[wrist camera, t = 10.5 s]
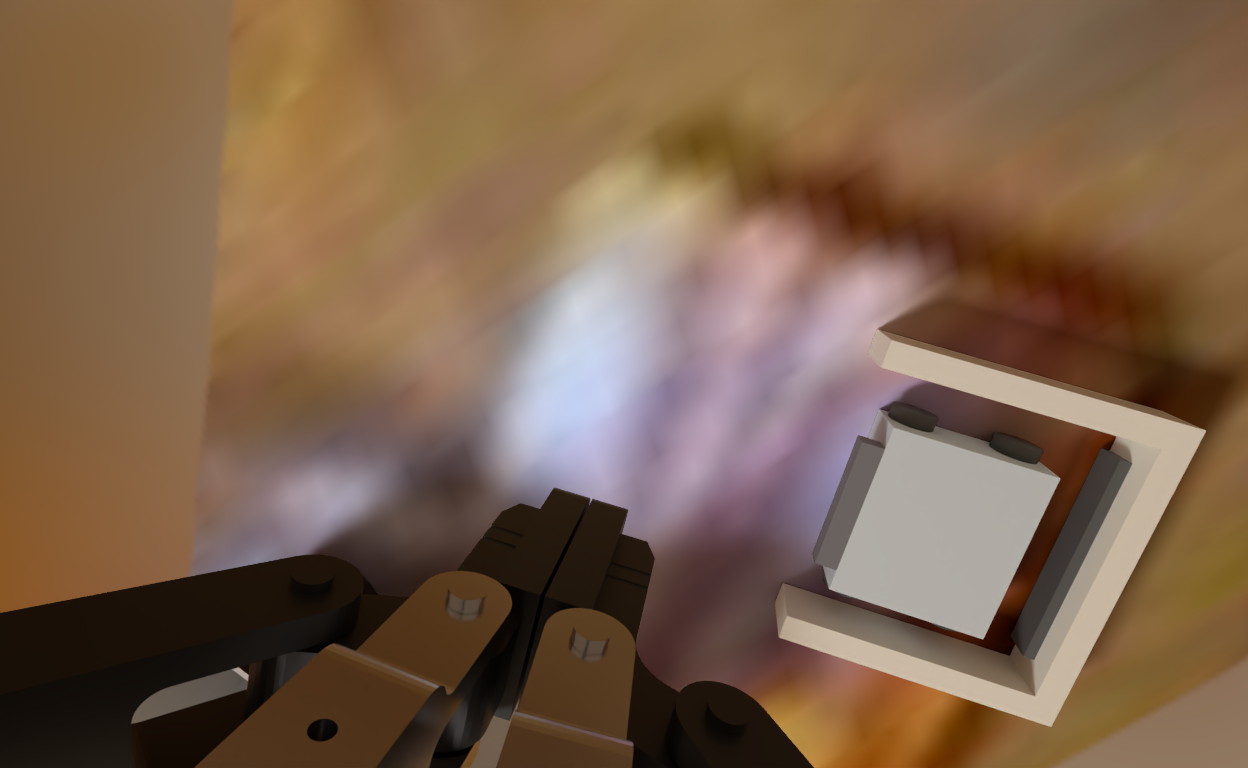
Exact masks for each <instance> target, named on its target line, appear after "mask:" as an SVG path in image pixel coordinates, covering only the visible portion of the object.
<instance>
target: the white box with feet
mask: <svg viewBox="0 0 1248 768" xmlns="http://www.w3.org/2000/svg"><path fill="white" fill-rule="evenodd" d="M937 421H938V417H937V416H935V415H933V414H932V413H930V412H927V411H925V410H923V409H920V408H918V407H915V406H912V405H909V404H905V403H900V402H893V403H892V406H891V408H890V411H889V412H887V411H884V410H881V409H879V411H878V414H877V416H876V419H875V422H874V424H873V427H872V429H871V432H870V434H869V437H868V438H866V437H863V436H859V435H858V437H857V439H856V442H855V444H854V447H853V450H852V452H851V455H850V457H849V460H848V462H847V465H846V468H845V470H844V473H843V475H842V478H841V481H840V483H839V486H838V488H837V491H836V493H835V496H834V499H833V501H832V504H831V506H830V509H829V511H828V514H827V517H826V519H825V522H824V524H823V527H822V530H821V532H820V535H819V537H818V540H817V542H816V545H815V548H814V550H813V553H812V554H813V558H814V562H815V564H819V565H822V566H823V568H824V572H825V574H824V577H823V581H824V583H825V584H826V585H827V586H828V588H829V590H832V591H834V592H836V593H838V594H840V595H842V596H844V597H847V598H850V599H860V600H863V601H866V602H869V603H872V604H875V605H879V606H882V607H885V608H888V609H891V610H894V611H897V612H900V613H903V614H906V615H909V616H912V617H915V618H918V619H922V620H925V621H928V622H930V623H932V624H934V625H935V626H937V627H940V628H942V629H945V630H949V631H958V632H961V633H965V634H968V635H971V636H974V637H977V638H980V639H984V637H985V635H986V633H987V631H988V628H989V626H990V624H991V622H992V620H993V618H994V616H995V614H996V612H997V610H998V608H999V606H1000V604H1001V601H1002V599H1003V597H1004V595H1005V593H1006V591H1007V589H1008V587H1009V585H1010V583H1011V581H1012V579H1013V576H1014V574H1015V572H1016V570H1017V568H1018V566H1019V564H1020V562H1021V560H1022V558H1023V556H1024V554H1025V551H1026V549H1027V547H1028V545H1029V543H1030V541H1031V539H1032V537H1033V535H1034V533H1035V531H1036V529H1037V526H1038V524H1039V522H1040V520H1041V518H1042V516H1043V514H1044V512H1045V510H1046V508H1047V506H1048V504H1049V502H1050V499H1051V497H1052V495H1053V493H1054V491H1055V489H1056V487H1057V485H1058V483H1059V481H1060V479H1061V478H1059V477H1058V476H1057V475H1056V474H1054V473H1053V472H1052V471H1051V470H1049V469H1048V468H1047V467H1045V466H1044V465H1043V464H1042V463H1040V462H1039V459H1040V457H1041V454H1042V452H1043V450H1042V449H1041V448H1040V447H1038V446H1036V445H1034V444H1032V443H1030V442H1028V441H1025V440H1023V439H1020V438H1018V437H1015V436H1012V435H1008V434H1005V433H1000V432H995V433H994V435H993V437H992V439H991V441H990V442H987V441H983V440H980V439H977V438H973V437H970V436H967V435H963V434H960V433H957V432H953V431H950V430H947V429H944V428H940V427H937V426H936V423H937Z"/></svg>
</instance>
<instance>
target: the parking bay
mask: <svg viewBox="0 0 1248 768" xmlns="http://www.w3.org/2000/svg"><path fill="white" fill-rule="evenodd" d="M868 355H869V356H870V357H871V358H872V359H873V360H874V361H875V362H876V363H877V364H878V365H879V366H880V367H881V368H885V369H888V370H891V371H895V372H898V373H902V374H905V375H909V376H912V377H916V378H919V379H922V380H926V381H929V382H933V383H936V384H940V385H943V386H946V387H950V388H953V389H957V390H960V391H964V392H967V393H970V394H974V395H977V396H981V397H984V398H988V399H991V400H994V401H998V402H1001V403H1005V404H1008V405H1012V406H1015V407H1018V408H1022V409H1025V410H1029V411H1032V412H1036V413H1039V414H1042V415H1046V416H1049V417H1053V418H1056V419H1060V420H1063V421H1066V422H1070V423H1073V424H1077V425H1080V426H1084V427H1087V428H1090V429H1094V430H1097V431H1101V432H1104V433H1108V434H1111V435H1115V436H1117V437H1116V439H1115V441H1114V443H1113V445H1112V447H1111V449H1110V451H1109V450H1105V449H1102V448H1101V449H1100V452H1099V454H1098V456H1097V458H1096V460H1095V462H1094V464H1093V466H1092V468H1091V470H1090V472H1089V474H1088V476H1087V478H1086V480H1085V482H1084V485H1083V487H1082V489H1081V491H1080V493H1079V495H1078V497H1077V499H1076V501H1075V503H1074V505H1073V507H1072V509H1071V511H1070V513H1069V516H1068V518H1067V520H1066V522H1065V524H1064V526H1063V528H1062V530H1061V532H1060V534H1059V536H1058V538H1057V540H1056V542H1055V544H1054V546H1053V549H1052V551H1051V553H1050V555H1049V557H1048V559H1047V561H1046V563H1045V565H1044V567H1043V569H1042V571H1041V573H1040V575H1039V577H1038V580H1037V582H1036V584H1035V586H1034V588H1033V590H1032V592H1031V594H1030V596H1029V598H1028V600H1027V602H1026V604H1025V606H1024V608H1023V610H1022V613H1021V615H1020V617H1019V619H1018V621H1017V623H1016V625H1015V627H1014V629H1013V631H1012V633H1011V635H1010V637H1011V638H1012V640H1013V641H1014V643H1015V646H1014V648H1013V650H1012V652H1011V654H1010V656H1008V655H1005V654H1002V653H999V652H996V651H993V650H990V649H987V648H983V647H980V646H977V645H974V644H971V643H968V642H965V641H962V640H959V639H955V638H952V637H949V636H946V635H943V634H940V633H937V632H934V631H931V630H927V629H924V628H921V627H918V626H915V625H912V624H909V623H906V622H903V621H899V620H896V619H893V618H890V617H887V616H884V615H881V614H878V613H875V612H871V611H868V610H865V609H862V608H859V607H856V606H853V605H850V604H847V603H843V602H840V601H837V600H834V599H831V598H828V597H825V596H822V595H819V594H815V593H812V592H809V591H806V590H803V589H800V588H797V587H794V586H791V585H787V584H784V583H782V586H781V588H780V591H779V594H778V596H777V599H776V602H775V608H776V617H777V627H778V636H779V638H782V639H785V640H788V641H791V642H794V643H797V644H800V645H803V646H806V647H809V648H812V649H815V650H818V651H821V652H824V653H827V654H830V655H834V656H837V657H840V658H843V659H846V660H849V661H852V662H855V663H858V664H861V665H864V666H867V667H870V668H873V669H876V670H879V671H882V672H885V673H888V674H891V675H894V676H897V677H901V678H904V679H907V680H910V681H913V682H916V683H919V684H922V685H925V686H928V687H931V688H934V689H937V690H940V691H943V692H946V693H949V694H952V695H955V696H958V697H961V698H965V699H968V700H971V701H974V702H977V703H980V704H983V705H986V706H989V707H992V708H995V709H998V710H1001V711H1004V712H1007V713H1010V714H1013V715H1016V716H1019V717H1022V718H1025V719H1028V720H1032V721H1035V722H1038V723H1041V724H1044V725H1047V726H1050V727H1051V726H1052V724H1053V722H1054V720H1055V719H1056V717H1057V715H1058V713H1059V711H1060V709H1061V707H1062V705H1063V703H1064V701H1065V699H1066V698H1067V696H1068V694H1069V692H1070V690H1071V688H1072V686H1073V684H1074V682H1075V680H1076V678H1077V677H1078V675H1079V673H1080V671H1081V669H1082V667H1083V665H1084V663H1085V661H1086V659H1087V658H1088V656H1089V654H1090V652H1091V650H1092V648H1093V646H1094V644H1095V642H1096V640H1097V638H1098V637H1099V635H1100V633H1101V631H1102V629H1103V627H1104V625H1105V623H1106V621H1107V619H1108V617H1109V616H1110V614H1111V612H1112V610H1113V608H1114V606H1115V604H1116V602H1117V600H1118V598H1119V596H1120V595H1121V593H1122V591H1123V589H1124V587H1125V585H1126V583H1127V581H1128V579H1129V577H1130V575H1131V574H1132V572H1133V570H1134V568H1135V566H1136V564H1137V562H1138V560H1139V558H1140V556H1141V555H1142V553H1143V551H1144V549H1145V547H1146V545H1147V543H1148V541H1149V539H1150V537H1151V535H1152V534H1153V532H1154V530H1155V528H1156V526H1157V524H1158V522H1159V520H1160V518H1161V516H1162V514H1163V513H1164V511H1165V509H1166V507H1167V505H1168V503H1169V501H1170V499H1171V497H1172V495H1173V493H1174V492H1175V490H1176V488H1177V486H1178V484H1179V482H1180V480H1181V478H1182V476H1183V474H1184V472H1185V471H1186V469H1187V467H1188V465H1189V463H1190V461H1191V459H1192V457H1193V455H1194V453H1195V452H1196V450H1197V448H1198V446H1199V444H1200V442H1201V440H1202V438H1203V436H1204V434H1205V432H1206V430H1204V429H1202V428H1199V427H1197V426H1195V425H1193V424H1190V423H1188V422H1186V421H1184V420H1181V419H1179V418H1177V417H1175V416H1172V415H1170V414H1168V413H1166V412H1163V411H1161V410H1157V409H1154V408H1150V407H1147V406H1143V405H1140V404H1136V403H1133V402H1130V401H1126V400H1123V399H1119V398H1116V397H1112V396H1109V395H1105V394H1102V393H1098V392H1095V391H1091V390H1088V389H1084V388H1081V387H1077V386H1074V385H1070V384H1067V383H1063V382H1060V381H1056V380H1053V379H1049V378H1046V377H1042V376H1039V375H1035V374H1032V373H1028V372H1025V371H1021V370H1018V369H1015V368H1011V367H1008V366H1004V365H1001V364H997V363H994V362H990V361H987V360H983V359H980V358H976V357H973V356H969V355H966V354H962V353H959V352H955V351H952V350H948V349H945V348H941V347H938V346H934V345H931V344H927V343H924V342H920V341H917V340H913V339H910V338H906V337H903V336H899V335H896V334H893V333H889V332H886V331H882V330H879V329H877V331H876V333H875V336H874V339H873V341H872V344H871V347H870V350H869V352H868Z"/></svg>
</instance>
